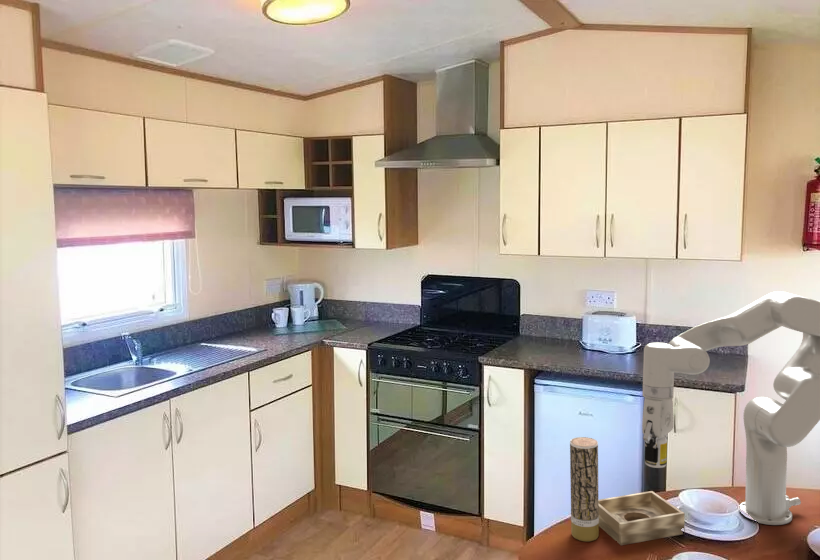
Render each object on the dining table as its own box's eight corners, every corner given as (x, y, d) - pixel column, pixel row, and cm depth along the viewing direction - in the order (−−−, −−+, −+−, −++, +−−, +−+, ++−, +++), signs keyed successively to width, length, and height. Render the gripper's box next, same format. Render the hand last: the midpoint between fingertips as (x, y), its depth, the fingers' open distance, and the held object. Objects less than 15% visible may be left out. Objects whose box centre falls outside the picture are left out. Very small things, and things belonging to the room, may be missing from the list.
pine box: (652, 510, 188) (652, 490, 187) (684, 533, 174) (684, 513, 174) (592, 520, 183) (592, 500, 183) (620, 545, 170) (620, 524, 169)
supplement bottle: (664, 461, 183) (665, 425, 182) (668, 469, 178) (669, 432, 177) (643, 460, 184) (644, 424, 183) (646, 468, 179) (647, 431, 178)
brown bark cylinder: (599, 543, 171) (598, 447, 168) (571, 542, 173) (570, 446, 170) (597, 530, 178) (597, 437, 175) (570, 529, 179) (569, 436, 176)
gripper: (659, 401, 170) (657, 471, 172) (684, 386, 183) (681, 451, 185) (630, 395, 174) (628, 464, 177) (656, 381, 187) (654, 445, 190)
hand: (655, 457), depth 181 cm, fingers closed on supplement bottle, 5 cm apart
